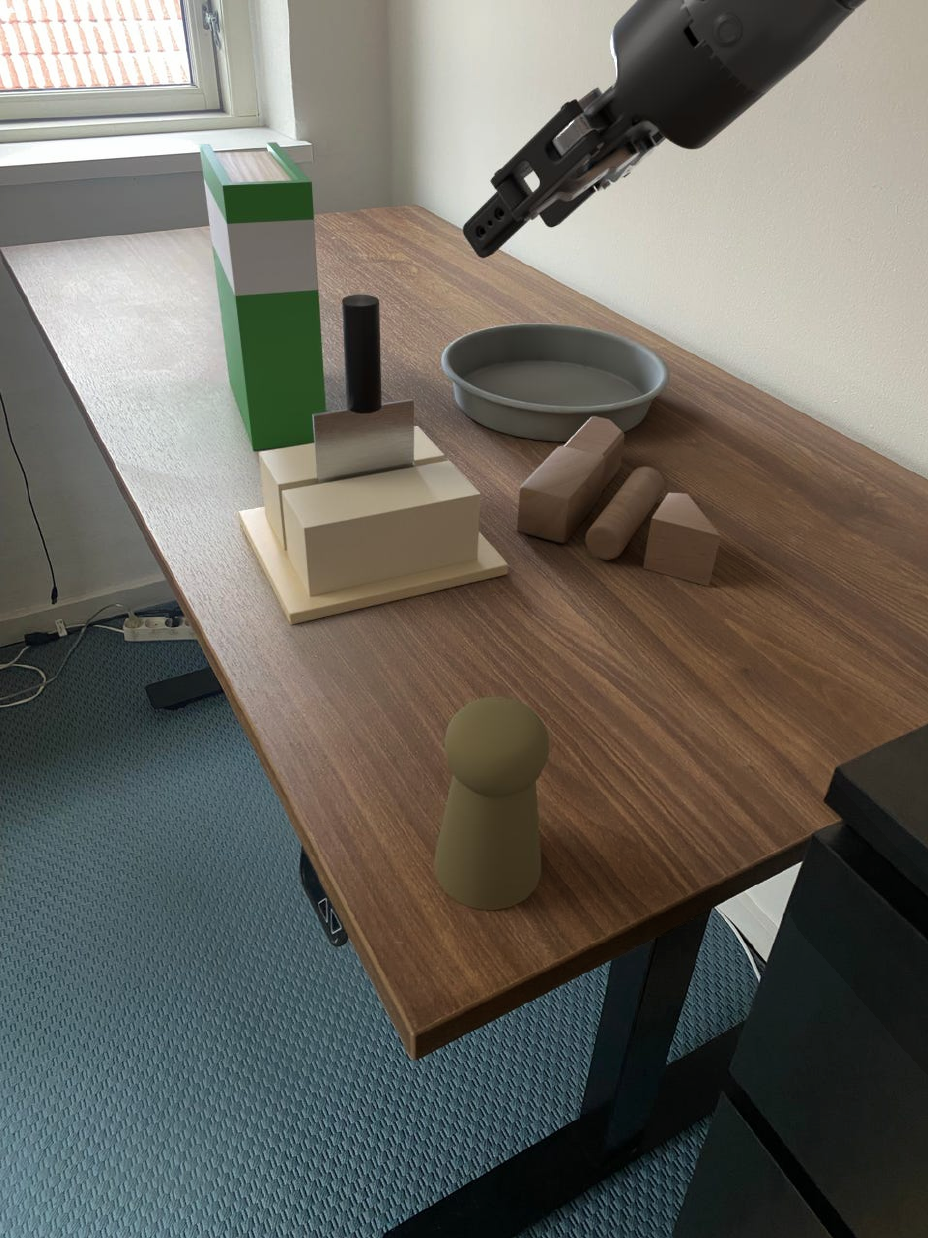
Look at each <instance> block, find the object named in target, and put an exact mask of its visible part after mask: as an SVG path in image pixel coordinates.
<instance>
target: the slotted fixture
mask: <svg viewBox="0 0 928 1238" xmlns="http://www.w3.org/2000/svg"><path fill="white" fill-rule="evenodd" d="M445 457H446V455H445V454H444V452H442V450H441V449H440V448H439V447H438V446H437V445H436V444H435V443H434V442H433V440H432V439H430V437H428V435H427V434H426V433H425V432H424V431H423V430H422V429H421V428H420V427H419V426H418V425H416V426H415V425H414V467H411V468H406V469H400V470H394V471H389V472H383V473H378V474H372V475H367V476H361V477H356V478H350V479H344V480H339V481H333V482H328V483H322V484H317V472H316V457H315V443H311V444H304V445H296V446H288V447H279V448H273V449H267V450H261V451H258V460H259V469H260V478H261V489H262V496H263V505H264V506H259V507H254V508H249V509H244V510H239V511H237V517H238V522H239V524H240V526H241V528H242V530H243V532H244V534H245V536H246V538H247V540H248V542H249V544H250V546H251V548H252V550H253V552H254V554H255V556H256V558H257V560H258V562H259V564H260V567H261V568H262V570H263V572H264V574H265V576H266V578H267V580H268V582H269V584H270V586H271V589H272V590H273V592H274V594H275V596H276V598H277V600H278V602H279V604H280V606H281V608H282V610H283V612H284V614H285V616H286V618H287V620H288V622H289V624H290V625H296V624H300V623H304V622H309V621H314V620H317V619H321V618H325V617H331V616H334V615H339V614H344V613H347V612H352V611H356V610H361V609H365V608H369V607H373V606H377V605H382V604H386V603H391V602H393V601H398V600H403V599H408V598H412V597H416V596H421V595H424V594H429V593H433V592H437V591H441V590H442V591H443V590H446V589H449V588H455V587H459V586H463V585H468V584H472V583H476V582H480V581H485V580H489V579H493V578H497V577H502V576H506V575H508V573H509V563H508V562H507V561H506V560H505V559H504V558H503V557H502V555H501V554H500V553H499V552H498V551H497V550H496V549H495V548H494V546H493V545H492V544H491V543H490V542H489V541H488V539H487V538H486V537H485V536H484V535H483V533H482V532H481V531H480V515H481V500H482V499H481V496H482V493H481V492H480V491H479V490H478V489H477V488H476V487H475V486H474V485H473V484H472V482H471V481H470V480H469V479H468V478H467V477H466V476H465V475H464V474H463V472H462V471H460V470H459V468H457V466H456V465H455V464H454V463H453V462H452V461H451V460H445V459H446V458H445Z"/></svg>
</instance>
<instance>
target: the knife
mask: <svg viewBox="0 0 928 1238" xmlns="http://www.w3.org/2000/svg"><path fill="white" fill-rule="evenodd" d="M341 307H342V310H341V311H342V330H343V347H344V349H343V351H344V353H343V354H344V373H345V374H344V375H345V376H344V377H345V397H346V398H345V399H346V408H342V409H337V410H329V411H326V412H322V413H316V414H313V428H314V443H315V457H316V472H317V484H322V483H328V482H333V481H339V480H344V479H350V478H356V477H361V476H367V475H372V474H378V473H383V472H389V471H394V470H400V469H406V468H411V467H414V427H415V400H414V398H408V399H402V400H401V399H400V400H396V401H388V402H383V403H382V367H381V366H382V364H381V315H380V312H381V311H380V299H379V298H378V297H376V296H374V295H370V294H361V293H360V294H359V293H358V294H351V295H347V296H345V297H343V298H342V300H341Z"/></svg>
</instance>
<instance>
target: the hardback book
mask: <svg viewBox="0 0 928 1238" xmlns="http://www.w3.org/2000/svg"><path fill="white" fill-rule="evenodd" d="M266 148H267V150H263V151H231V152H230V151H229V152H215V151H214V149H213V148H212V146H211V144H210V143H201V144H200V143H199V152H200V160H201V167H202V168H201V169H202V175H203V183H204V191H205V199H206V208H207V215H208V223H209V224H208V225H209V231H210V238H211V239H210V240H211V245H212V246H211V247H212V248H211V249H212V254H213V264H214V270H215V278H216V286H217V294H218V301H219V311H220V318H221V327H222V335H223V342H224V349H225V351H224V352H225V357H226V366H227V373H228V381H229V385H230V387H231V390H232V394H233V396H234V399H235V402H236V405H237V407H238V411H239V413H240V417H241V419H242V422H243V425H244V428H245V430H246V434H247V437H248V440H249V443H250V446H251V449H252V451H263V450H272V449H280V448H286V447H292V446H298V445H304V444H311V443H314V428H313V414H316V413H322V412H327V407H326V406H327V405H326V390H325V388H326V387H325V373H324V357H323V343H322V342H323V341H322V326H321V311H320V310H321V309H320V293H319V277H318V263H317V262H318V261H317V244H316V226H315V211H314V196H313V195H314V194H313V182H312V180H311V179H310V178H309V177H308V176H307V175H306V174H305V173H304V171H303V170H302V169H301V168H300V167H299V165H297V163H295V161H294V160H293V159H292V158H291V156H289V154H288V153H287V152H286V151H285V150H284V149H283V148H282V146H281V145H279V143H278V142H276V141H274V142H271V141H270V142H269V141H268V142H266Z"/></svg>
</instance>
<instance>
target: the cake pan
mask: <svg viewBox="0 0 928 1238" xmlns="http://www.w3.org/2000/svg"><path fill="white" fill-rule="evenodd" d="M440 362H441V367H442V369H443V371H444V373H445V375H446V376H447V377H448V379H450V381H451V382H452V386H453V392H454V398H455V402H456V404H457V406H458V407H459V408H460V410H461V411H462V412H463V413H464V414H465V415H466V416H468V417H469V419H472V420H473V421H475V422H476V423H478V424H480V425H482V426H484V427H486V428H489V429H491V430H494V431H496V432H500V433H501V434H502V433H503V434H506V435H509V436H514V437H516V438H517V437H518V438H521V439H522V438H523V439H528V440H534V441H535V440H536V441H543V442H556V443H557V442H559V443H562V442H563V443H564V442H565V443H567V442H568V441H569V440H570V439H571V438H572V437H573V436H574V434H575V433H576V432H577V431H578V430H579V429H580V428H581V427H582V426H583V425H584V424H585V423H586V422H587V421H588V420H589V419H590V418H591V417H592V416H596V417H601V418H605V419H610V420H611V421H612V422H613V423H614V424H615V425H616V426H617V427H618V428H619V429H620V430H621V431H622V432H623V433H625V432H628V431H631V430H632V429H633V428H635V427H636V426H638V425H639V424H640V423H641V422H642V421H643V419H645V417H646V415H647V413H648V411H649V409H650V406H651V404H652V402H653V400H654V399H655V398H656V397H658V396H659V395H660V394H661V393H662V392H663V391H665V389H666V388H667V386H668V385H669V382H670V380H671V373H670V369H669V367H668V365H667V363H666V362H665V361H664V360H663V358H662V357H660V356H659V355H658V354H657V353H656V352H654V351H653V350H651V349H650V348H649V347H647V346H645V345H643V344H641V343H639V342H638V341H636V340H635V341H634V340H632V339H630V338H627V337H625V336H622V335H619V334H616V333H612V332H609V331H605V330H601V329H597V328H591V327H586V326H580V325H573V324H572V325H571V324H562V323H549V322H548V323H546V322H527V323H525V322H524V323H511V324H501V325H495V326H490V327H485V328H481V329H478V330H474V331H471V332H469V333H466V334H464V335H462V336H460V337H458V338H456V339H454V340H453V341H452V342H451V343H450V344H449V345H447V347H446V348H445V349H444V351H443V352H442V355H441V361H440Z"/></svg>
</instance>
